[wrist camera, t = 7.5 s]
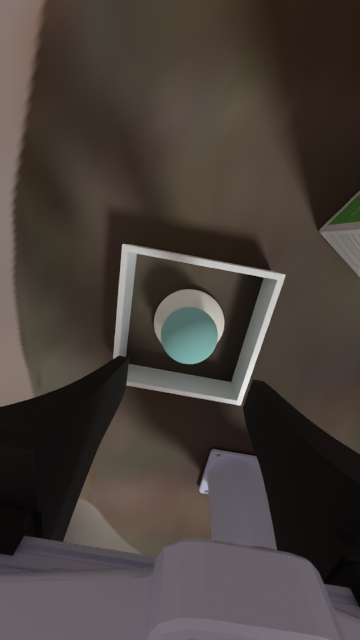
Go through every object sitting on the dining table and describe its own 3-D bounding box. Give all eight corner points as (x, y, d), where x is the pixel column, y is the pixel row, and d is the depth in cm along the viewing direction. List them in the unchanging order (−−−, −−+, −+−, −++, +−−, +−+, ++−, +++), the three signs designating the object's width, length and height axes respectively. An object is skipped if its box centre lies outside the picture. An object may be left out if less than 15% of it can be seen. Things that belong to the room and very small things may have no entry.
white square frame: (271, 270, 19) (285, 274, 16) (234, 386, 24) (240, 405, 21) (132, 244, 19) (122, 243, 16) (120, 366, 23) (111, 382, 20)
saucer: (231, 296, 20) (232, 297, 20) (214, 358, 22) (215, 361, 22) (160, 282, 20) (159, 283, 20) (150, 347, 22) (149, 349, 22)
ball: (218, 306, 20) (231, 324, 16) (205, 351, 22) (213, 380, 17) (167, 295, 20) (165, 311, 15) (158, 342, 21) (153, 370, 17)
